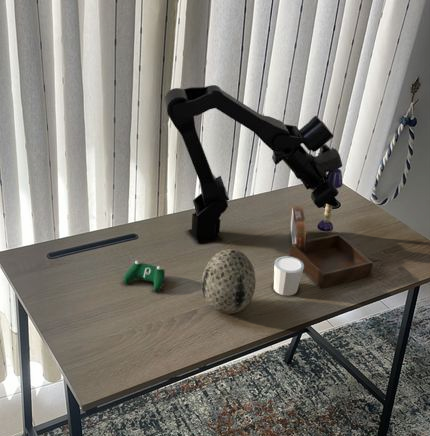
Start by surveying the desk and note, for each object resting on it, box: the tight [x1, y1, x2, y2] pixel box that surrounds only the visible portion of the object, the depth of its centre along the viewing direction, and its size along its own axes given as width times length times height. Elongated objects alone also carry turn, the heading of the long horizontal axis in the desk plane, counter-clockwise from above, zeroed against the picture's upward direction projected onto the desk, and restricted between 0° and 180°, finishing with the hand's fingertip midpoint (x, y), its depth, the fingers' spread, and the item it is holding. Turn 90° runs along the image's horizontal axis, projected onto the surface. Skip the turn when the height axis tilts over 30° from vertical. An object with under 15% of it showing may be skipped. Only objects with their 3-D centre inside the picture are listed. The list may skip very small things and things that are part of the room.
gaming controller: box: [122, 260, 166, 293], centre depth 156 cm, size 9×4×6 cm
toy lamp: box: [316, 168, 344, 233], centre depth 174 cm, size 5×5×17 cm
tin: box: [290, 205, 307, 252], centre depth 173 cm, size 15×3×8 cm, turn 179°
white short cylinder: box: [273, 255, 304, 297], centre depth 157 cm, size 7×7×7 cm
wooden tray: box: [289, 233, 374, 289], centre depth 167 cm, size 14×14×4 cm
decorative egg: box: [201, 248, 257, 315], centre depth 146 cm, size 12×12×15 cm
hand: (334, 201), depth 175 cm, fingers closed on toy lamp, 3 cm apart
